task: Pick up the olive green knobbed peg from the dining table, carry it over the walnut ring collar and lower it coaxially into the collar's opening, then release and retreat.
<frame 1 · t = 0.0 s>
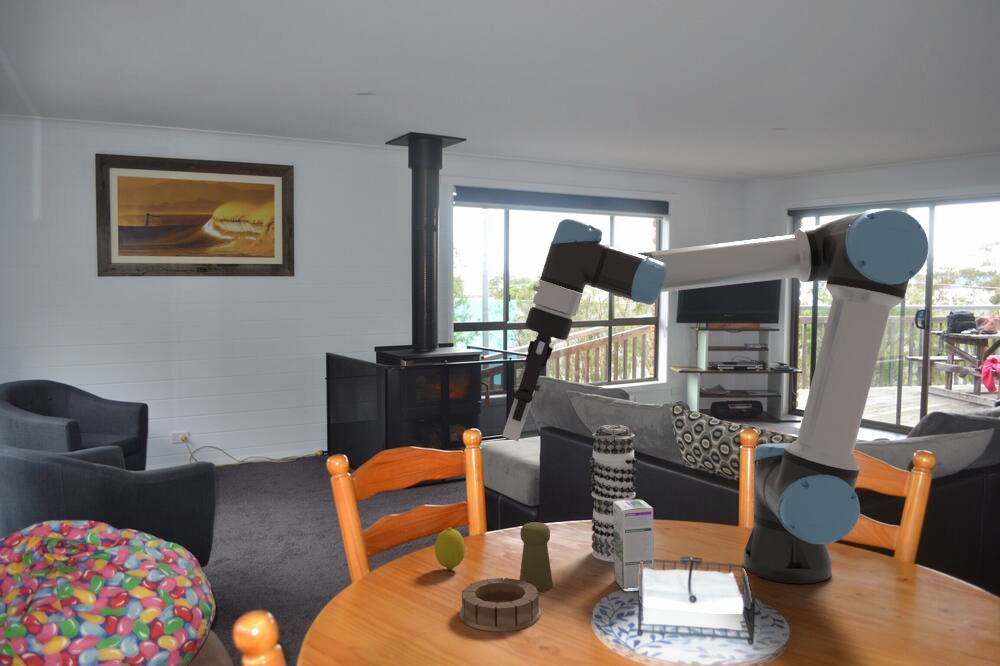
hand: (513, 430, 132), 28 cm above the table, tool tilted 20°, fingers open, 13 cm apart
olive green knobbed peg: (535, 586, 136), on the table
syrup box: (633, 586, 135), on the table
collar: (500, 613, 124), on the table
lemon: (450, 571, 144), on the table
decorative candle: (613, 555, 151), on the table
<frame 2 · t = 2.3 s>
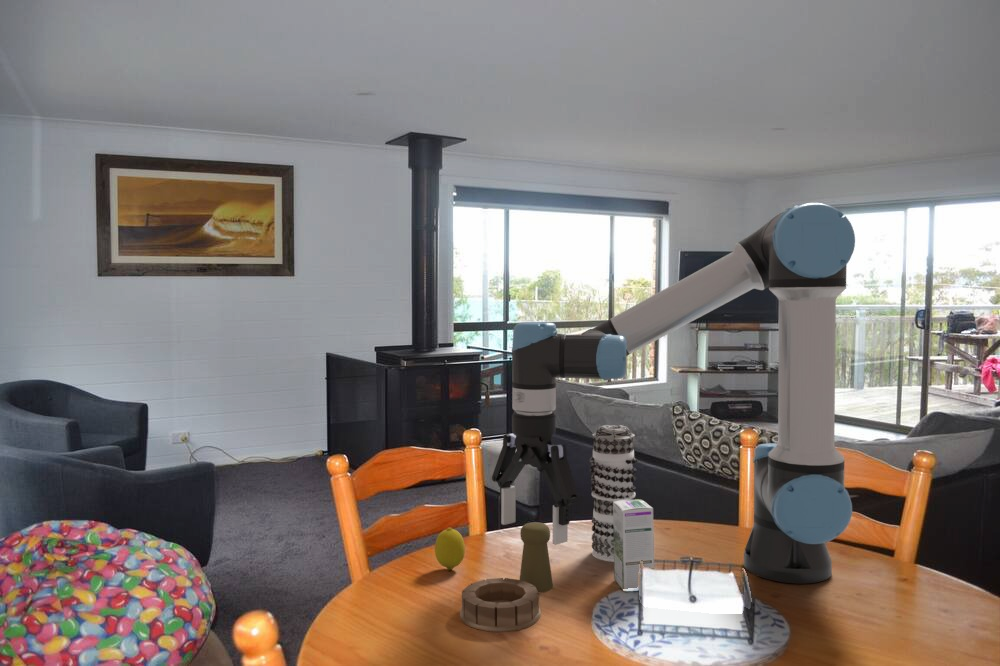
hand: (533, 532, 135), 9 cm above the table, tool pointing down, fingers open, 13 cm apart
nothing on the table moved.
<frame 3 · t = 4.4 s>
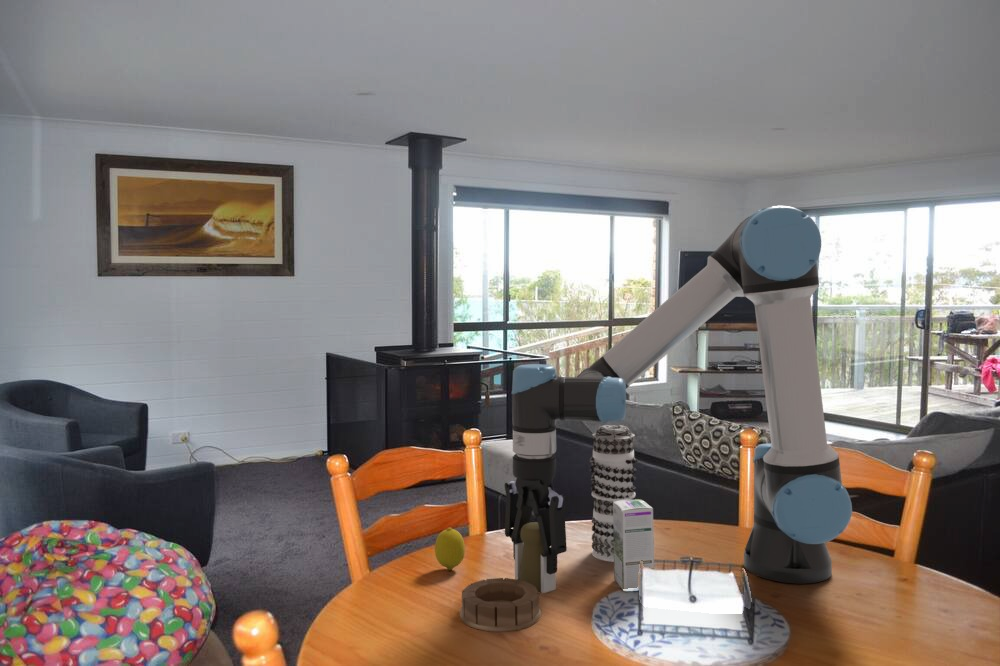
hand: (534, 584, 136), 0 cm above the table, tool pointing down, fingers closed on olive green knobbed peg, 6 cm apart
olive green knobbed peg: (535, 586, 136), on the table, touching gripper
everything else where it was.
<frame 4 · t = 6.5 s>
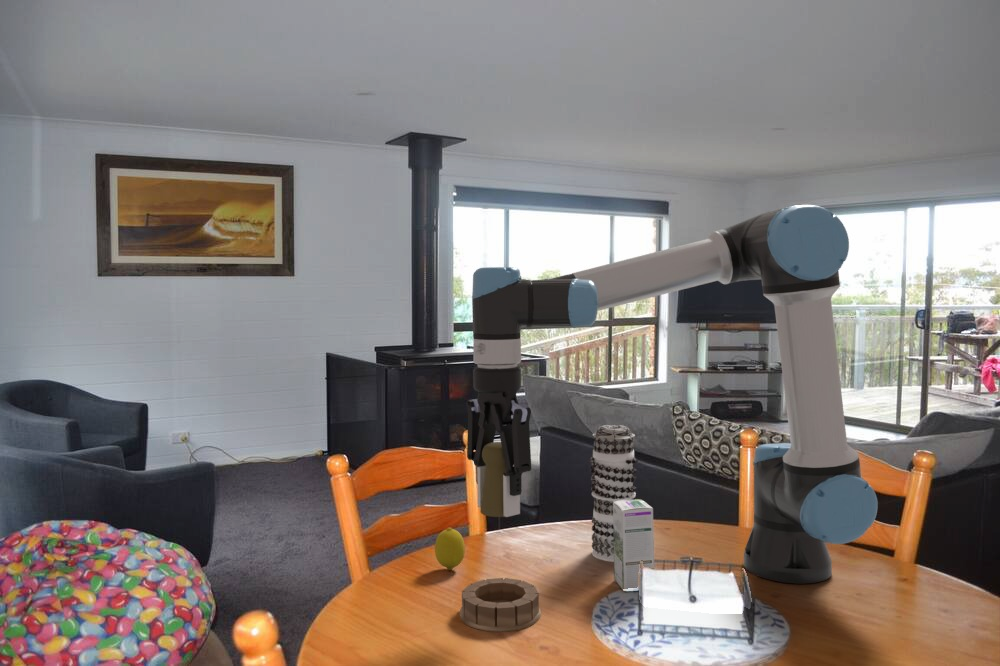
hand: (498, 509, 124), 17 cm above the table, tool pointing down, fingers closed on olive green knobbed peg, 6 cm apart
olive green knobbed peg: (499, 512, 124), point 16 cm above the table, touching gripper
everything else where it was.
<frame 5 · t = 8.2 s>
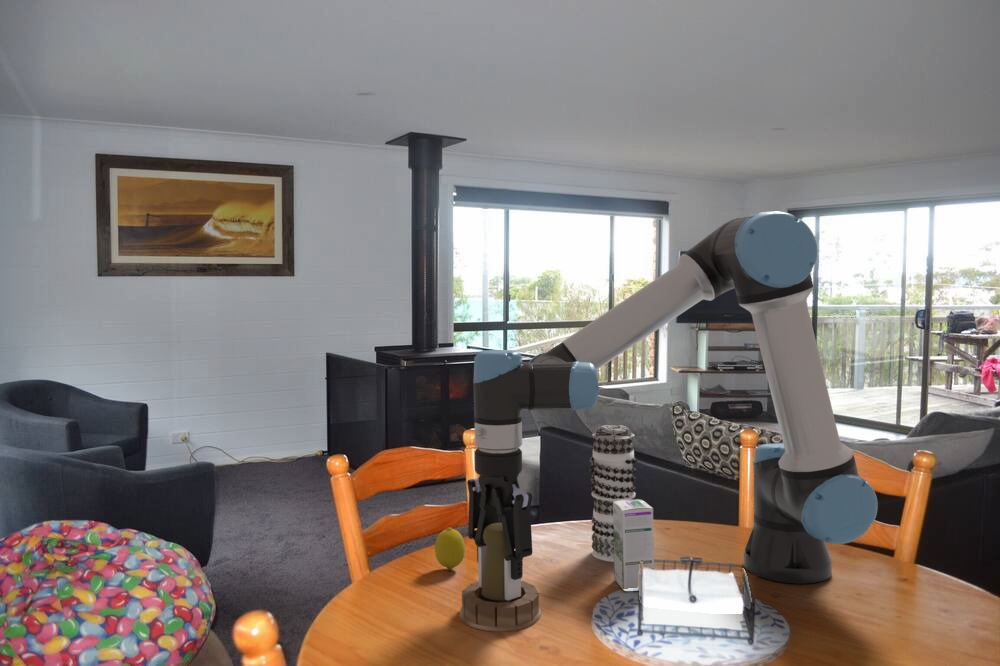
hand: (499, 590, 124), 4 cm above the table, tool pointing down, fingers closed on olive green knobbed peg, 6 cm apart
olive green knobbed peg: (500, 593, 124), point 3 cm above the table, touching gripper
everything else where it was.
when the fingers open (4 cm above the table, at t = 10.4 s): olive green knobbed peg drops 3 cm, resting on collar.
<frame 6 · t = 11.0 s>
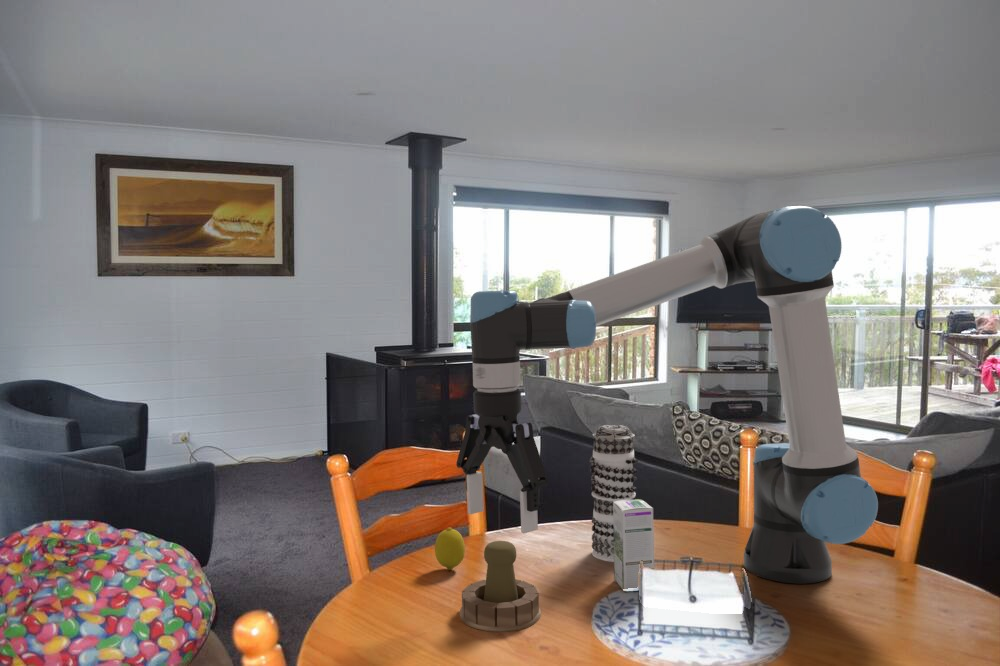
hand: (501, 521, 124), 15 cm above the table, tool pointing down, fingers open, 13 cm apart
olive green knobbed peg: (501, 611, 125), resting on collar
everything else where it was.
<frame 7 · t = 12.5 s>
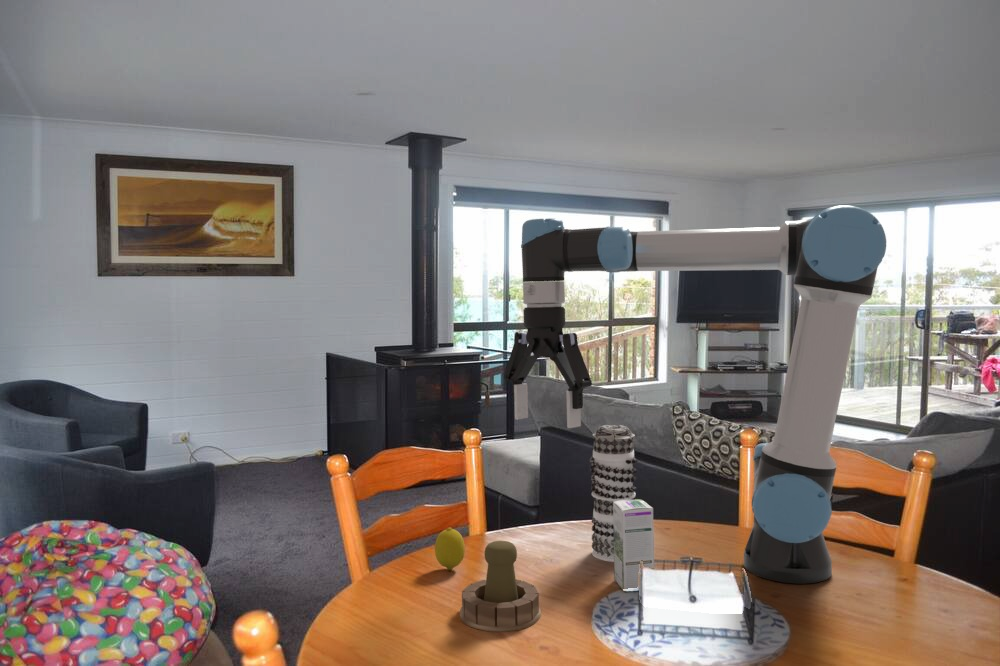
hand: (546, 422, 141), 27 cm above the table, tool pointing down, fingers open, 13 cm apart
nothing on the table moved.
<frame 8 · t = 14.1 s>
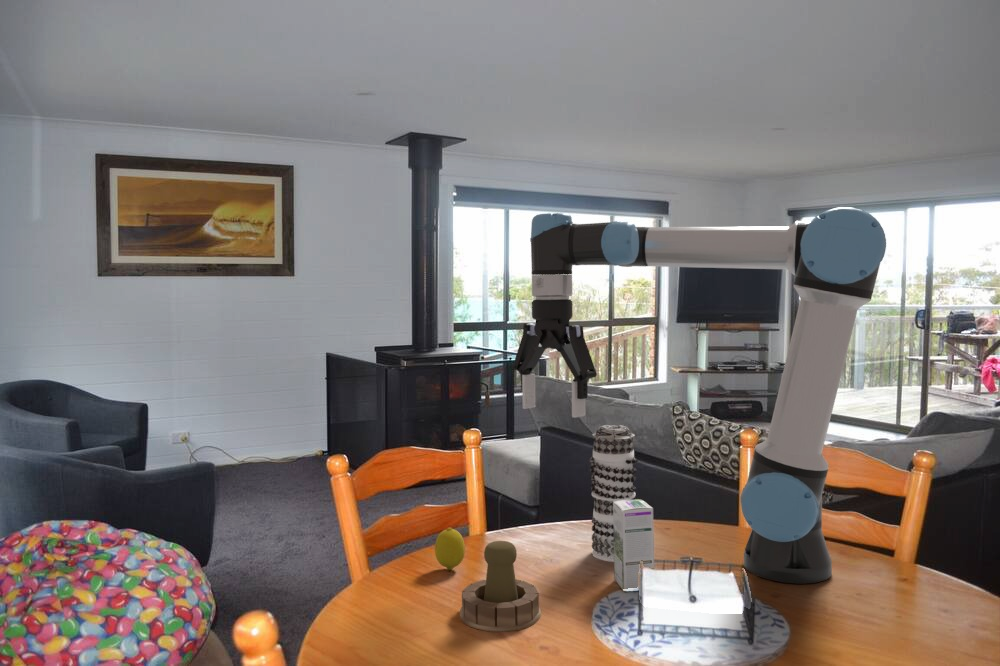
hand: (553, 412, 145), 29 cm above the table, tool pointing down, fingers open, 13 cm apart
nothing on the table moved.
at the end: olive green knobbed peg 0.2 cm from the collar (horizontally); olive green knobbed peg resting on collar; olive green knobbed peg tilted 0° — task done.
